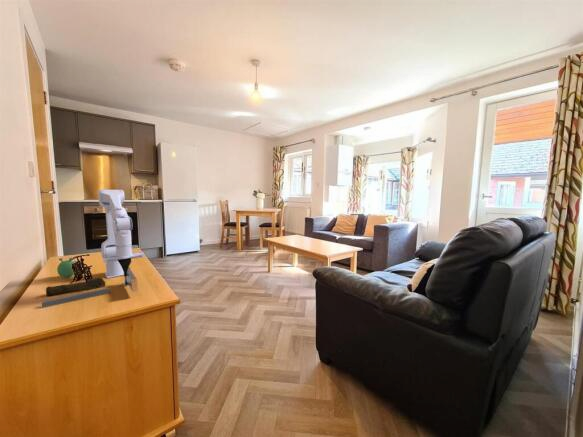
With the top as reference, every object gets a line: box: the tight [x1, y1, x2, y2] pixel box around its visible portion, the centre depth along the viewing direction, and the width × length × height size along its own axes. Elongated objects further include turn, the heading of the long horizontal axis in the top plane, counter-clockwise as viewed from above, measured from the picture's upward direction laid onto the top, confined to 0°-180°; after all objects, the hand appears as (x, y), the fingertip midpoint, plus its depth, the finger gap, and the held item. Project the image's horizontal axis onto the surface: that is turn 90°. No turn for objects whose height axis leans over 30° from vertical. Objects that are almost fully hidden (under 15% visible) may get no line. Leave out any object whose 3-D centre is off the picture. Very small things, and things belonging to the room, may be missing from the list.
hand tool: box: [45, 277, 106, 297], centre depth 103 cm, size 19×4×5 cm, turn 120°
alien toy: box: [56, 257, 76, 279], centre depth 120 cm, size 7×8×10 cm
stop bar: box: [41, 287, 111, 308], centre depth 95 cm, size 2×20×2 cm, turn 133°
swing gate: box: [124, 266, 139, 293], centre depth 105 cm, size 21×2×7 cm, turn 41°
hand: (125, 275), depth 106 cm, fingers closed
